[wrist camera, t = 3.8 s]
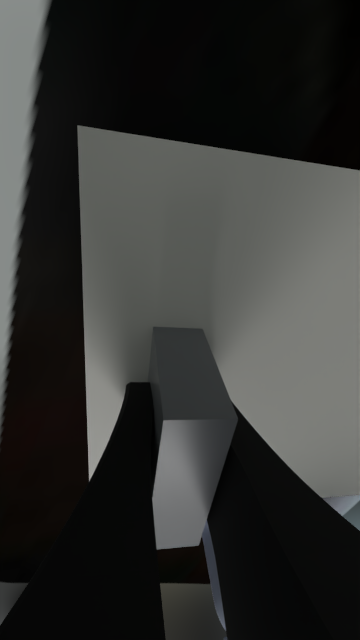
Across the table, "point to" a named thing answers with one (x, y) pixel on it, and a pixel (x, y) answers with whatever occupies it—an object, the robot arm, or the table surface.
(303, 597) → the robot arm
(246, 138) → the table surface
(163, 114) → the table surface
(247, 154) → the carton lid
